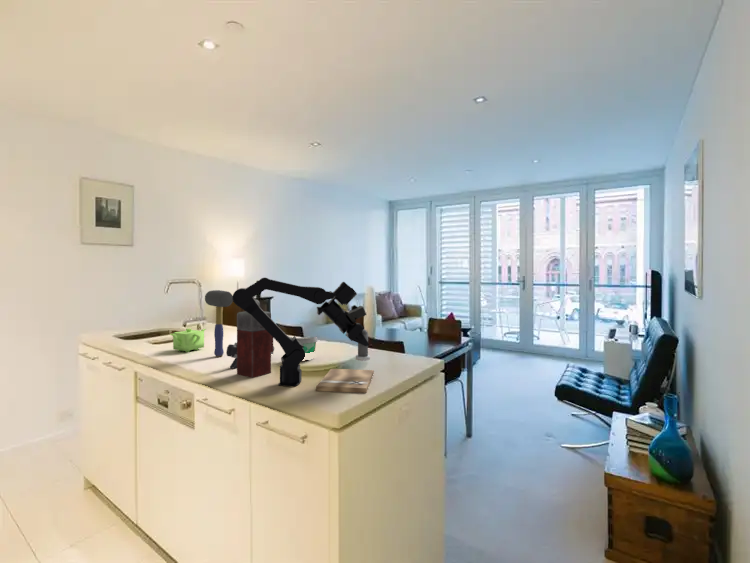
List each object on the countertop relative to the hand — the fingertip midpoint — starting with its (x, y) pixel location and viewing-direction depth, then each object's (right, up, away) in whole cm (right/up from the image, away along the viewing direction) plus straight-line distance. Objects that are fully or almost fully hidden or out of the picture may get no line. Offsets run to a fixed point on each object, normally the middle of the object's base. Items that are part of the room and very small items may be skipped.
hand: (366, 344), depth 142 cm
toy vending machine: (-42, -12, +7) cm, 44 cm away
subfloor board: (-7, -12, -4) cm, 15 cm away
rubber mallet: (-68, -11, +34) cm, 77 cm away
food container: (-28, -12, +28) cm, 42 cm away
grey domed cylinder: (-1, -5, 0) cm, 5 cm away
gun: (-49, -12, +22) cm, 55 cm away
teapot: (-87, -11, +47) cm, 100 cm away
